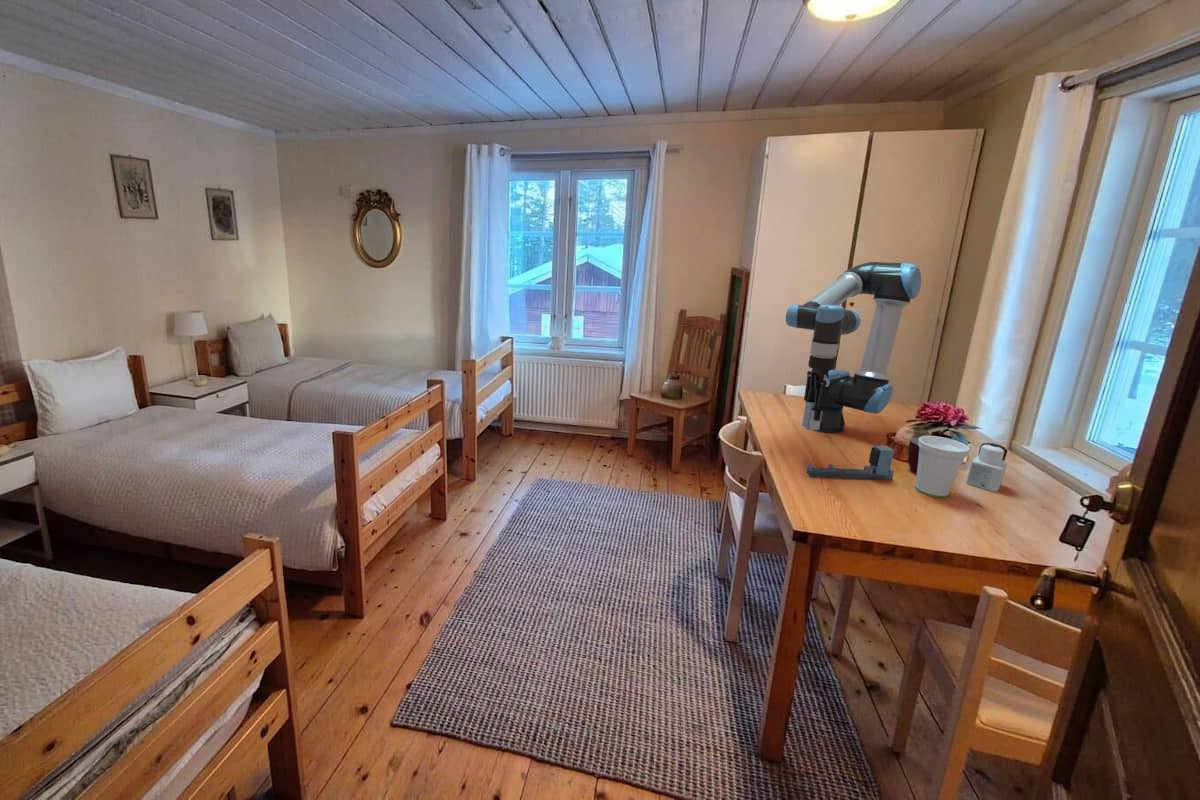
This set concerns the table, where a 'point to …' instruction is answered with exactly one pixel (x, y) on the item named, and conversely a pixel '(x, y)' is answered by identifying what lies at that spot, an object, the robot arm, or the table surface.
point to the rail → (875, 471)
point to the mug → (913, 454)
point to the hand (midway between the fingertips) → (810, 426)
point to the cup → (938, 464)
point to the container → (988, 467)
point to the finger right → (808, 415)
